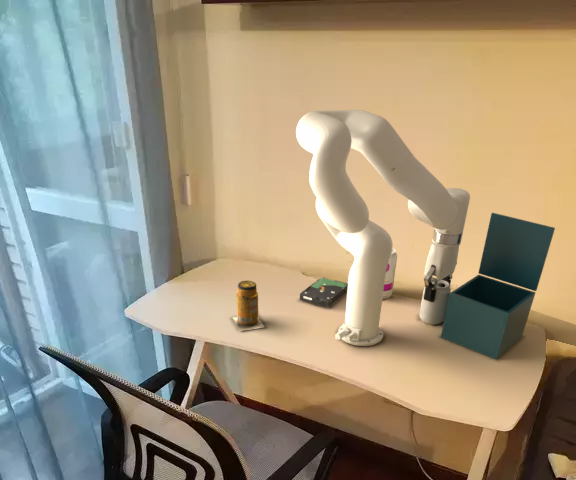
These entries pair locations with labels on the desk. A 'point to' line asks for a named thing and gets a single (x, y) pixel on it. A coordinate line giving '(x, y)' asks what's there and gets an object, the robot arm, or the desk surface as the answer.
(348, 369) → the desk surface
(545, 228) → the lid
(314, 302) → the disk drive
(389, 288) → the supplement can
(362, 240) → the robot arm
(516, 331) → the teal box
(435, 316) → the can
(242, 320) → the condiment
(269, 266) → the desk surface
